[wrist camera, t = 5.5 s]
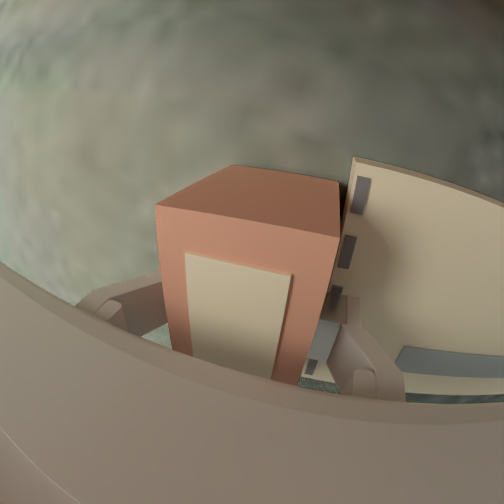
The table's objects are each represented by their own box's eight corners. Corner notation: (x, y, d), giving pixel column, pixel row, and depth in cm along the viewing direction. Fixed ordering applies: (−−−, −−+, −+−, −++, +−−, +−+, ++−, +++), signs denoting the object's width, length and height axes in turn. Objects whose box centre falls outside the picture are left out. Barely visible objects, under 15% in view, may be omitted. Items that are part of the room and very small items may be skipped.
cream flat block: (576, 241, 6) (591, 254, 5) (500, 377, 11) (505, 395, 9) (353, 156, 9) (356, 162, 8) (305, 354, 14) (300, 378, 12)
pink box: (338, 181, 9) (339, 240, 5) (301, 342, 13) (279, 431, 9) (231, 165, 10) (152, 206, 6) (225, 323, 14) (182, 401, 10)
